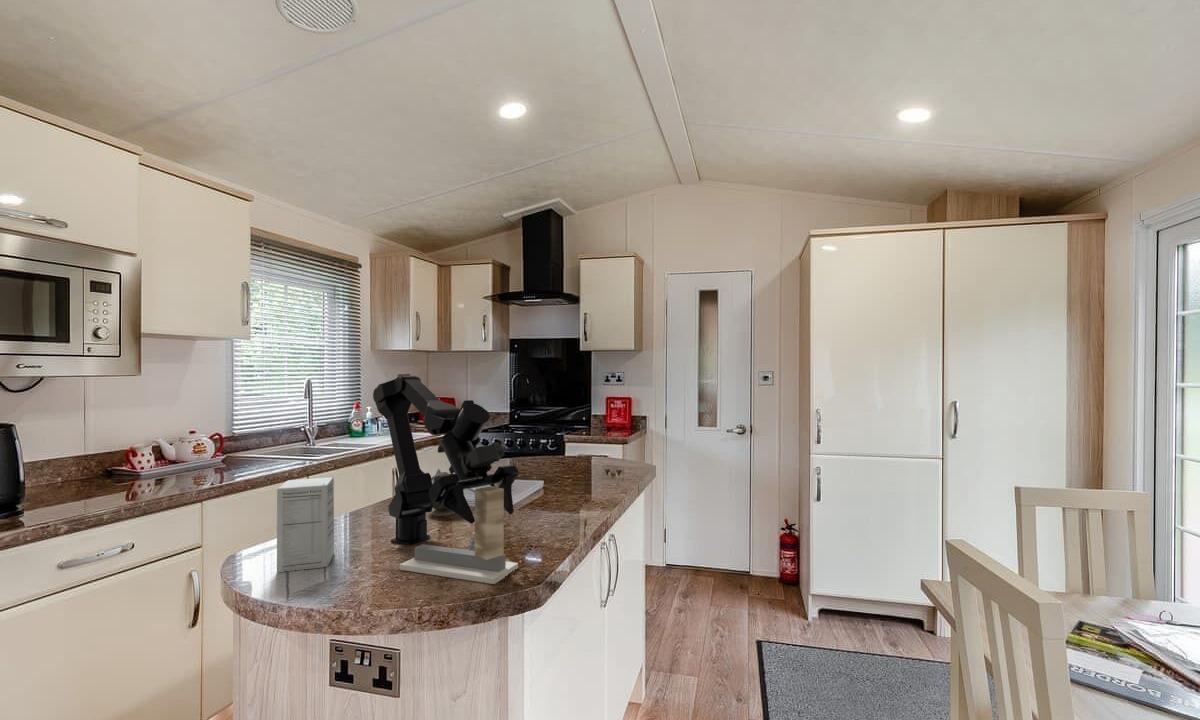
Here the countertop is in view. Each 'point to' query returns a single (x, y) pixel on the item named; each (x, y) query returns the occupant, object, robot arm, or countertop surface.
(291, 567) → the supplement box
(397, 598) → the countertop surface
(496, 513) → the brass post
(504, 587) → the countertop surface
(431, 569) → the ridge stand
